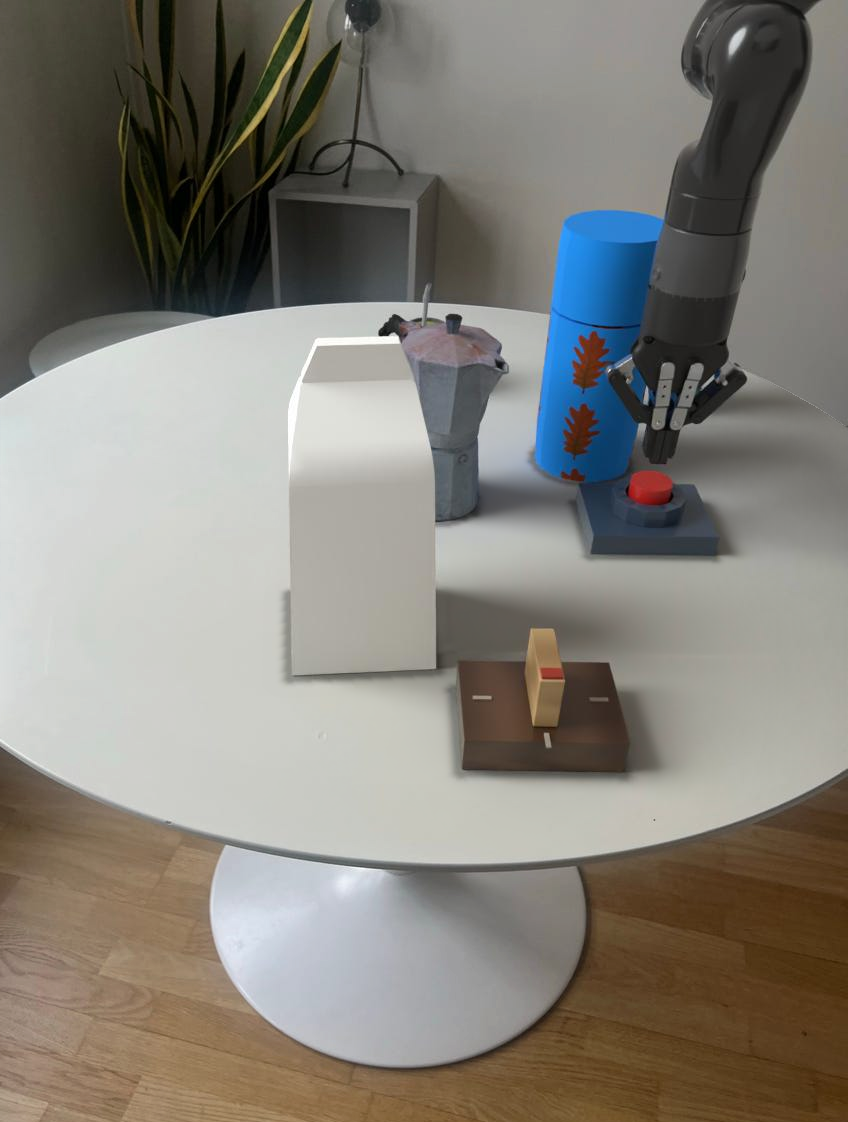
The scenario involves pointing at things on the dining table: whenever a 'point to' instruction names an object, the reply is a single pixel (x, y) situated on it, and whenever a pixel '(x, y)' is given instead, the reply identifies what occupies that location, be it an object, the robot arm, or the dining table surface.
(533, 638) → the handle
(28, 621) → the dining table surface
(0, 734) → the dining table surface
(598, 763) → the panel
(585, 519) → the button box
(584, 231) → the thermos
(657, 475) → the button
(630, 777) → the dining table surface
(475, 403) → the moka pot
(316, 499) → the milk
